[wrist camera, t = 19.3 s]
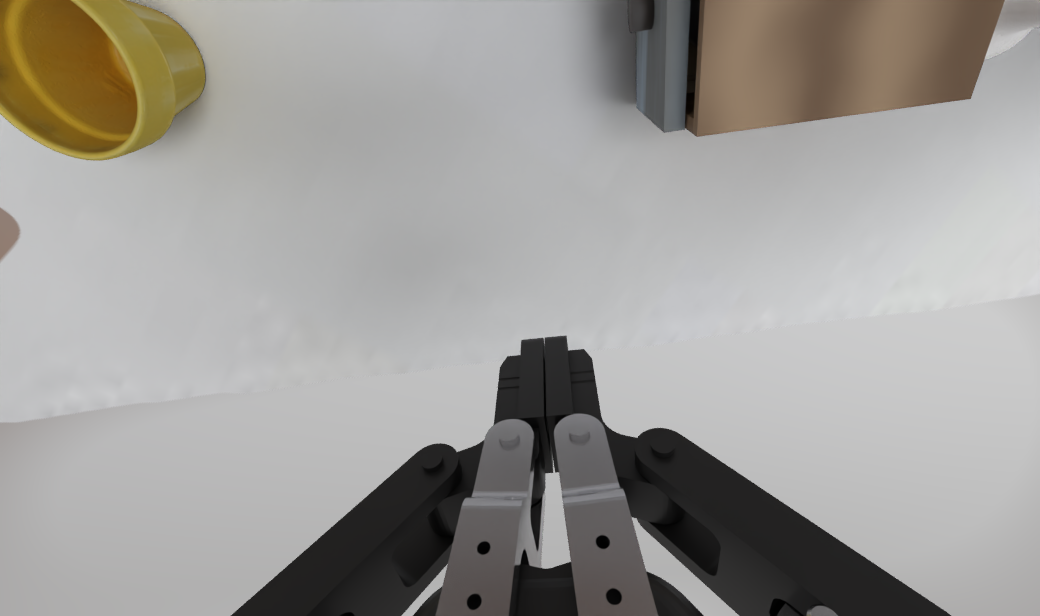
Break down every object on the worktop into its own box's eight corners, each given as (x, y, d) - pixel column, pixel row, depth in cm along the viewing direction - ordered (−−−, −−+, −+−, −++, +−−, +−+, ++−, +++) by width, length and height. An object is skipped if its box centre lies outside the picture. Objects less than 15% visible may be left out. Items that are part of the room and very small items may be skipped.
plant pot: (255, 122, 37) (175, 152, 29) (139, 137, 38) (30, 170, 30) (192, -33, 32) (71, -51, 24) (59, -12, 33) (-101, -22, 25)
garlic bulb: (898, 17, 33) (977, 29, 26) (998, -74, 29) (1117, -85, 23) (942, 77, 35) (1026, 103, 28) (1041, -2, 31) (1162, 7, 25)
